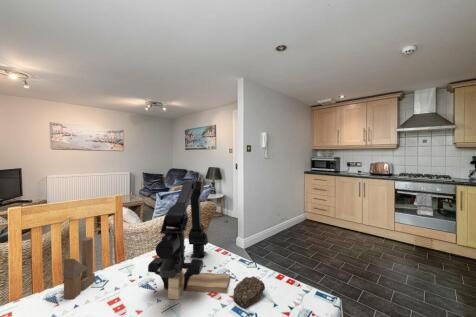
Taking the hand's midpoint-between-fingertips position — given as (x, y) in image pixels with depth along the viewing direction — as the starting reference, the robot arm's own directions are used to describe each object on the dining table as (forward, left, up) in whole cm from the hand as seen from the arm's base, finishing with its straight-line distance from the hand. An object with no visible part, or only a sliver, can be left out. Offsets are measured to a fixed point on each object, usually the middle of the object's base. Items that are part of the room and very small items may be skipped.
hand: (176, 289), depth 75 cm
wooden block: (+1, -37, -2) cm, 37 cm away
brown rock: (-2, +26, -2) cm, 26 cm away
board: (-7, +6, -2) cm, 10 cm away
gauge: (-4, 0, -2) cm, 5 cm away
